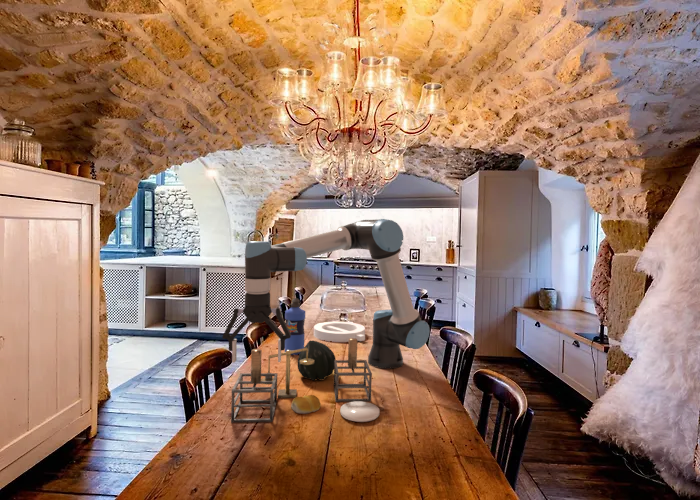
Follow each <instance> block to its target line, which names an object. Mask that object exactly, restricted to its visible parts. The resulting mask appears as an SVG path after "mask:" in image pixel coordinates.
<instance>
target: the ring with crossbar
mask: <svg viewBox="0 0 700 500" xmlns="http://www.w3.org/2000/svg"><path fill="white" fill-rule="evenodd" d="M313 337H314V338H316V339H317V340H321V341H324V340H325V342H330V341H332V343H349V338H356V339H357V342H364V341H365V340H366V328H365V326H364V325H362V324H360V323H355V322H350V321H325V322H320V323H316V324H315V325H313Z"/></svg>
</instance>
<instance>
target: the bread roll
mask: <svg viewBox="0 0 700 500" xmlns="http://www.w3.org/2000/svg"><path fill="white" fill-rule="evenodd" d="M321 405H322V404H321V401H320V399H319V397H318V396H316V395H313V394H309V395H308V394H307V395H303V396H296V398H293V400H292V402H291V409H292V411H293V412H294V413H297V414H300V415H301V414H304V415H305V414H310V413H312V412H313V413H315V412H317V411H319V409H320V408H321Z"/></svg>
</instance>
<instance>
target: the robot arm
mask: <svg viewBox="0 0 700 500" xmlns="http://www.w3.org/2000/svg"><path fill="white" fill-rule="evenodd" d="M403 232H404V231H403V230H402V227H401V226H400V225H399V224H398V223H397V222H396V221H394V220H392V219H385V218H380V219H363V220H359V221H354V222H351V223H349V224H345V225H341V226H338V228H337V229H336V230H332V231H327V232H323V233H319V234H315V235H311V236H307V237H303V238H302V237H301V238H298V239H297V238H296V239H294V240H289V241H285V242H282V243H277V244H273V245H271V242H270V241H264V240H263V241H262V240H257V241H256V240H253V241H252V240H251V241H248V242H246V244H245V250H244V291H245V293H244V307H243V308H241V307H239V306H236V307H235V308H234V309H233V314H232V318H231V319H230V321H229V323H228V325H227V327H226V329H225V331H224V333H223V334H222V336H221V337H222V339H223V340H227V341H228V351H229V352H231V362H232V364H234V363H236V361H237V348H238V346H237V343H238V342H237V341H238V339H237V338H236V336H237V335H238V334H239V333H240V332H241V331H242V330H243V328H244V327H246V325H247V324H248V323H249V322H250V323H251V324H255V323H259V324H263V323H265V324H266V325H267V326H269V328H270V329H271V331H273V332H274V334H275V335H276V336H277V337H278V341H277V354H278V357H277V362H278V363H281V361H282V356H281V353H282V351H285V340H286V339H288V338H290V337H291V333H290V331H289V329H288V327H287V325H286V320H285V318H284V317H283V315H282V311H281V307H280V306H278V307H275V308H272V307H271V293H270V291H271V273H274V272H297V271H303V270H304V269H305V268H306V266H307V264H308V259H309V258H313V257H316V256H321V255H324V254H328V253H331V252H334V251H339V250H342V251H348V250H368V251H369V254H370V258H371V259H372V260H373V261H376V263H377V267H378V270H379V273H380V276H381V279H382V284H383V287H384V289H385V292H386V296H387V299H388V303H389V306H390V309H380V310H379V309H378V310H376V311H375V312H374V313H373V319H372V345H371V349H370V351H369V354H368V358H367V363H368V365H370V366H371V367H375V368H381V369H396V368H397V369H398V368H401V367H402V366H403V365H404V357H403V354H402V353H403V352H402V350H401V347H400V346H403V347H405V348H408V349H413V350H419V349H422V348H423V346H425V344H426V343H427V342H428V339H429V337H430V329H431V328H430V325H429V324H428V322H426V320H422V318H421V315H420V312H419V310H418V309H415V308H414V306H413V301H412V298H411V294H410V291H409V287H408V284H407V281H406V277H405V274H404V271H403V267H402V264H401V263H402V262H401V260H400V257H399V255H400V253H401V250H402V249H401V247H402V246H403V241H404V233H403ZM242 313H243V315H244V316H245V318H244V320H243V321H242V322H241V323H240V324H239V325H238V326H237V328H236V329H235V330H234V331H233V332H232V333H231V330H232V329H233V328H234V324H235V323H236V321H237V320H238V317H239V316H241V315H242ZM271 314H273V315H274V316H276V318H277V321H278V322H279V325H280V327H281V328H282V330H283V331H282V330H281V329H280V328H279V327H278V325H276V324H275V322H274V321H273V320H272V318H271V317H270V315H271ZM283 332H284V333H283ZM230 333H231V334H230Z"/></svg>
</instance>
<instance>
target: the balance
mask: <svg viewBox="0 0 700 500" xmlns="http://www.w3.org/2000/svg"><path fill="white" fill-rule="evenodd" d="M302 351H307V353H306V359H301V360H300V364H302V365H311V364H314V360H313V359H308V349H307V348H303V349H298V350H294V351H290V350H287V351H286V352H285V351H283V352H281V357H283V356H285V389H283V388H282V389H281V388H280V389H278V391H277V399H295V398H296V397H297V393H298V392H297V388H296V389H295V388H294V389H293V388H292V389H291V387H290V385H291V356H292V355H291V354H293V353H297V352H302ZM272 358H278V353H274V354H271V355H268V363H267V364H268V365H267V366H268V367H267V373H271V372H270V370H271V368H270V367H271V366H270V365H271V359H272ZM273 379H274V376H264V377H263V378H261V381H273Z"/></svg>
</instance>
